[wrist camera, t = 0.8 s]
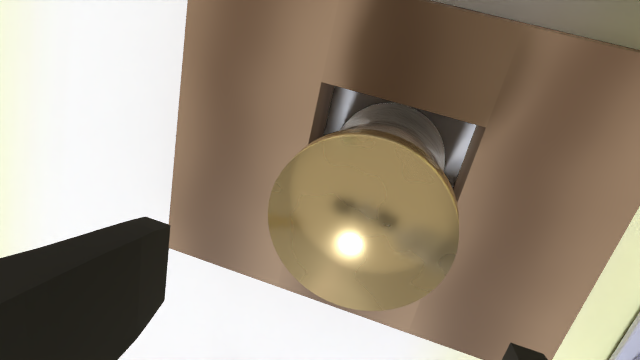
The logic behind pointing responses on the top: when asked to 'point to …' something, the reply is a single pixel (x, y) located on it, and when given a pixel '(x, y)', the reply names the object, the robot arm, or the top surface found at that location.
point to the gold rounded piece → (368, 211)
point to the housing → (433, 96)
